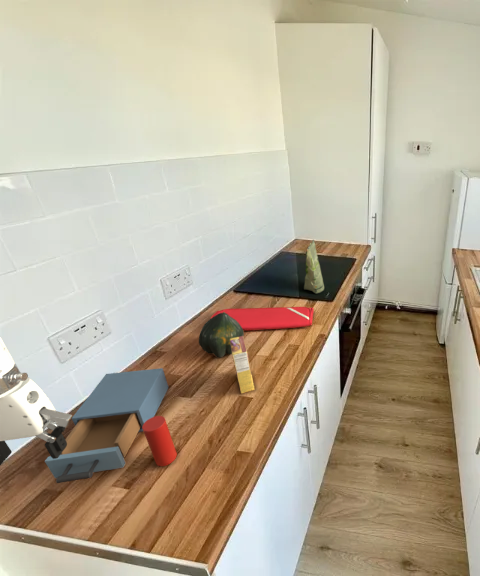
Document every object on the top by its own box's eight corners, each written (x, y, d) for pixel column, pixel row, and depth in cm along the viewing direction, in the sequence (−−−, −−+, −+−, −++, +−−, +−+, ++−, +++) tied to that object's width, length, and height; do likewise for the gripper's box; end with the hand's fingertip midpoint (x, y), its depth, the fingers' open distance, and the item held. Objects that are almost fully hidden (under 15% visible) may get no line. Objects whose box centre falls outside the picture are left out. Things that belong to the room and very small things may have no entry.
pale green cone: (310, 296, 160) (307, 248, 149) (298, 288, 167) (294, 241, 156) (329, 290, 167) (328, 244, 156) (316, 282, 174) (314, 237, 163)
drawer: (114, 484, 72) (106, 467, 70) (42, 497, 69) (30, 479, 67) (149, 416, 90) (144, 400, 87) (93, 423, 87) (85, 407, 84)
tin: (152, 468, 77) (138, 432, 72) (159, 451, 81) (146, 417, 76) (173, 464, 78) (161, 429, 73) (179, 448, 82) (167, 414, 77)
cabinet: (146, 430, 86) (138, 410, 83) (82, 439, 83) (71, 418, 80) (168, 387, 101) (162, 368, 98) (114, 393, 97) (106, 373, 94)
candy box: (236, 376, 107) (229, 338, 100) (250, 373, 108) (244, 334, 102) (239, 394, 100) (232, 354, 93) (254, 390, 101) (248, 350, 95)
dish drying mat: (218, 313, 141) (216, 306, 140) (313, 311, 147) (313, 303, 145) (205, 333, 127) (203, 325, 126) (311, 330, 133) (311, 322, 131)
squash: (193, 356, 106) (220, 319, 107) (188, 335, 117) (213, 301, 118) (232, 369, 115) (257, 334, 116) (224, 348, 127) (247, 317, 127)
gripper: (65, 362, 57) (98, 431, 65) (-61, 373, 53) (-10, 446, 61) (35, 392, 51) (76, 465, 59) (-111, 408, 47) (-47, 484, 55)
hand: (32, 455), depth 60 cm, fingers open, 8 cm apart
